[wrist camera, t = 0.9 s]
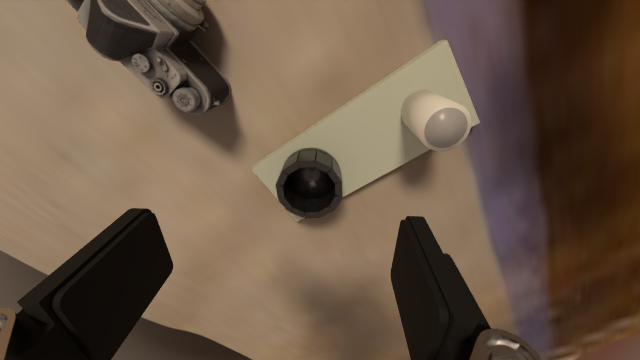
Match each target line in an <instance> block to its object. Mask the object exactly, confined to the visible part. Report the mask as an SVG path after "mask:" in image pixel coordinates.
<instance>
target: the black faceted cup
mask: <svg viewBox="0 0 640 360" xmlns="http://www.w3.org/2000/svg"><path fill="white" fill-rule="evenodd" d="M276 191H277V197H278V199H279V202H280V203H281V204H282V205H283V206H284V207H285V208H286V210H287V211H289V212H290V213H293V214H295V215H297V216H300V217H302V218H320V217H322V216H324V215H326V214H328V213H330V212H332V211H334V209H335V208H336V207H337V205H338V204H339V202H340V200H341V199H342V197H343V196H342V177H341V169H340V167H339V164H338V162H337V161H336V159H335V158H334V157H333V156H332V155H331V154H329V153H328V152H326V151H324V150H321V149H318V148H303V149H300V150H297V151H295V152H294V153H292V154H291V155H290V156H289V157H288V158H287V159H286V161H285V163H284V165H283V168H282V170H281V172H280V174H279V177H278V180H277V182H276Z"/></svg>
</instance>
